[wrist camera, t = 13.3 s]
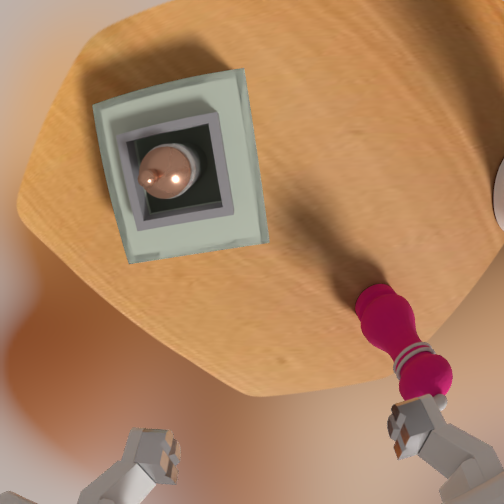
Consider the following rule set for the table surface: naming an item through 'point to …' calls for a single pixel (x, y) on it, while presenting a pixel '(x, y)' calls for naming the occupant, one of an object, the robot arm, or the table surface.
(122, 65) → the table surface
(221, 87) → the green square holder
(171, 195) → the canister
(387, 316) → the pepper mill
